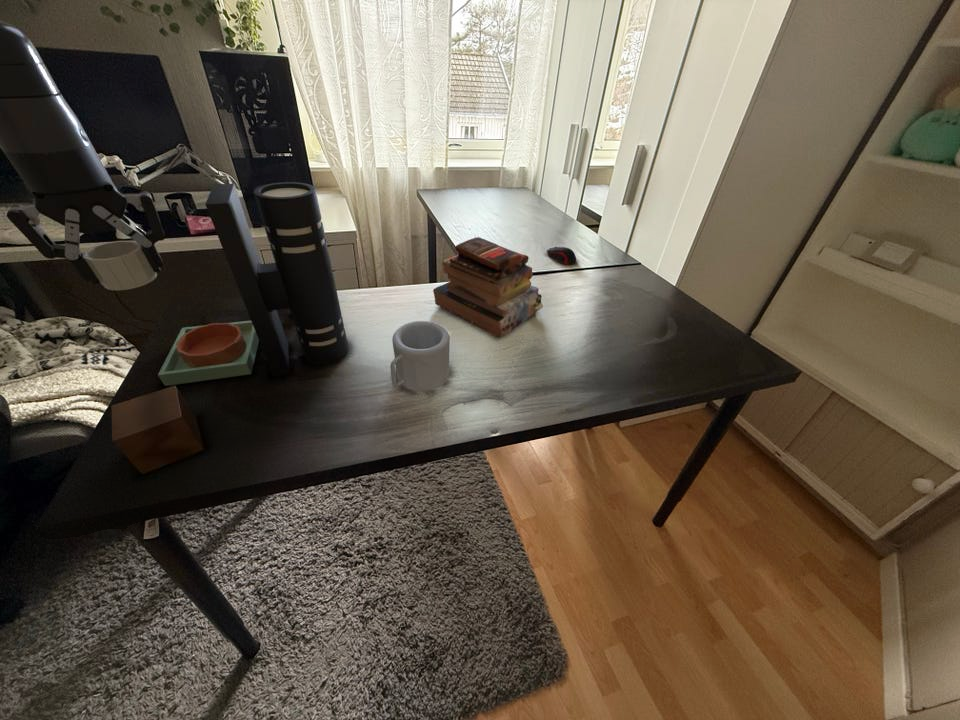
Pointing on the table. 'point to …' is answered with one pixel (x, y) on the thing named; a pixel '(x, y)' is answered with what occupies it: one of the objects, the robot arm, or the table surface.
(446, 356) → the mug
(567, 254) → the computer mouse
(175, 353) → the tray
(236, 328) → the big bowl
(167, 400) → the block
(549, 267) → the table surface
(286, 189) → the light fixture
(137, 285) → the small bowl
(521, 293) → the stack of old books
